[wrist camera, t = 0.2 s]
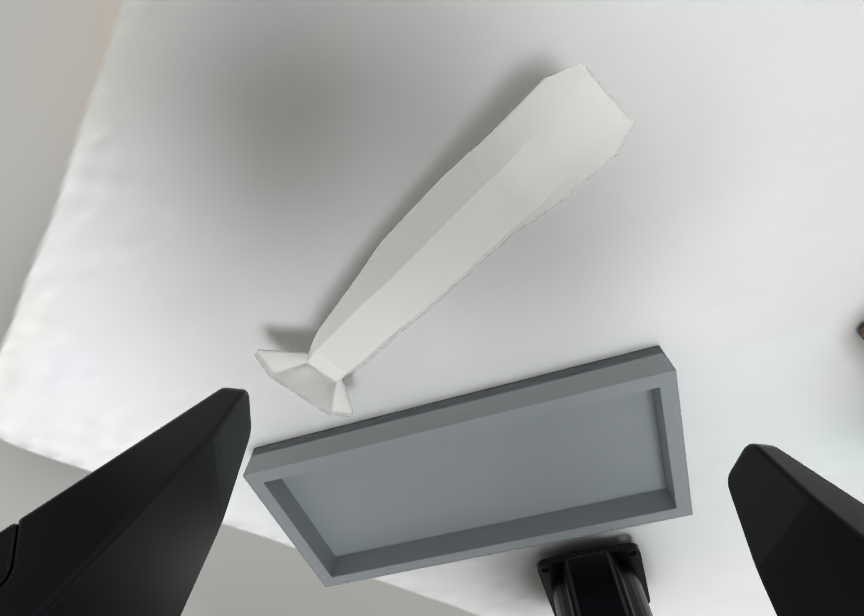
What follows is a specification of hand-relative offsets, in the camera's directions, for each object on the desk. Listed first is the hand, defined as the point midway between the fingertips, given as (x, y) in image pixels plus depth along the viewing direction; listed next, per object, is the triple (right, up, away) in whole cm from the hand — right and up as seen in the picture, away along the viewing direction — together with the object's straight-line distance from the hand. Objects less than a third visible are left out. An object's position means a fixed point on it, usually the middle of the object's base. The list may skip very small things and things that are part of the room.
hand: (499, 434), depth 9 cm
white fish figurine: (-2, +5, +14) cm, 15 cm away
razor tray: (+1, -7, +20) cm, 21 cm away
